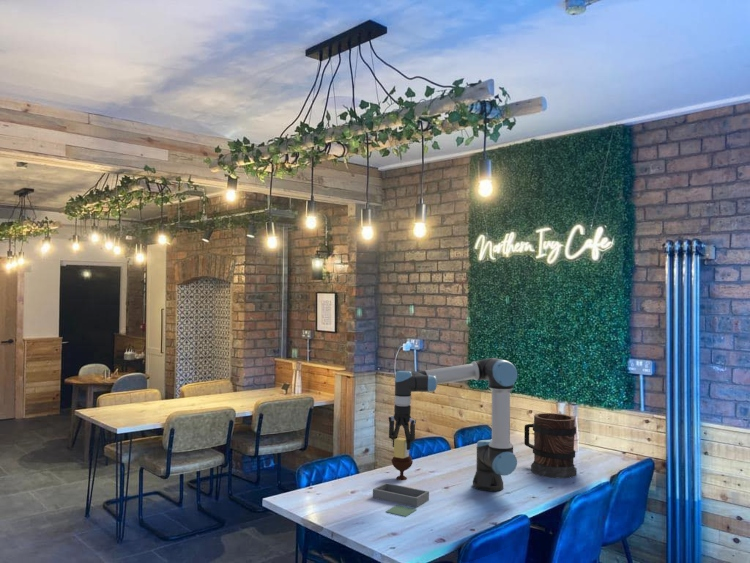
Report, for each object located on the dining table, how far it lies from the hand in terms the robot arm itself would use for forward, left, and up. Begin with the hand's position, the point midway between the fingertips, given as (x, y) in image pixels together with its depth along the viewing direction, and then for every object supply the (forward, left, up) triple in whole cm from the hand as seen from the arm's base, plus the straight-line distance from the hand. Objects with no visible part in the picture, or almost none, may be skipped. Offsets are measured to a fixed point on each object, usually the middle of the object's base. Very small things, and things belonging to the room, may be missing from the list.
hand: (401, 455), depth 284 cm
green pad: (-7, +12, -21) cm, 25 cm away
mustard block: (0, 0, 0) cm, 0 cm away
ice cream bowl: (+17, -32, -21) cm, 42 cm away
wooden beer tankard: (-42, -93, -21) cm, 104 cm away
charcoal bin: (+1, -2, -21) cm, 21 cm away
